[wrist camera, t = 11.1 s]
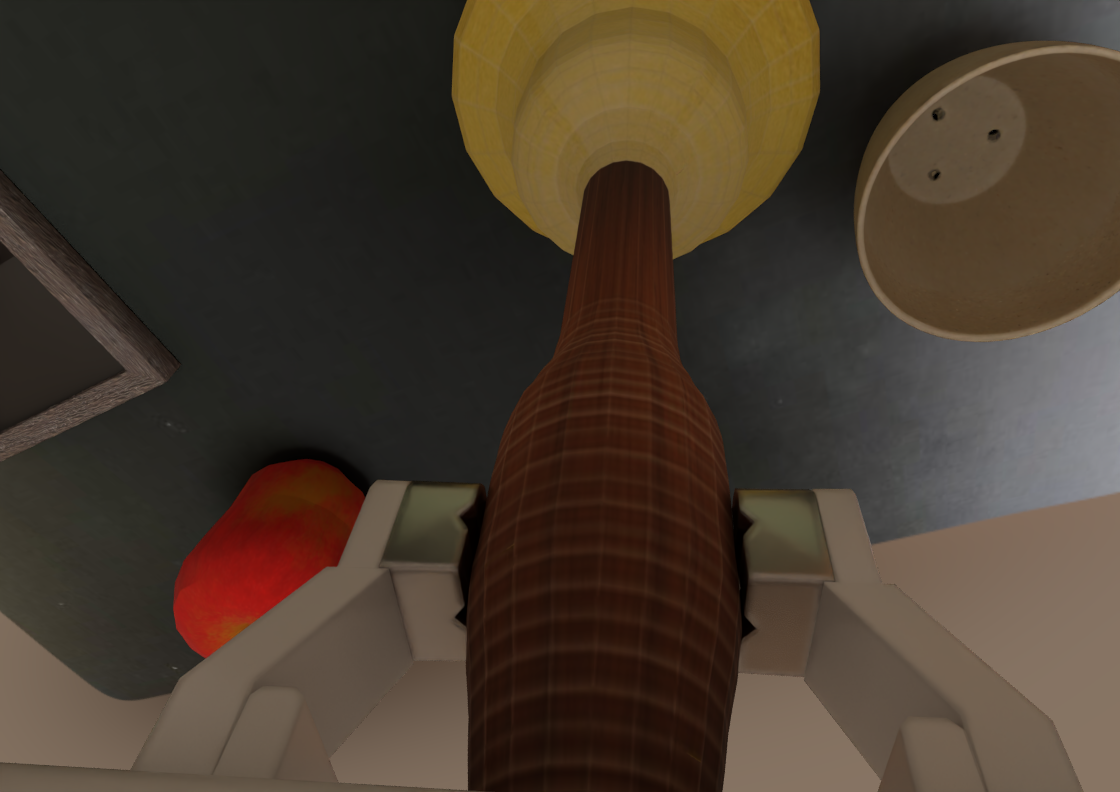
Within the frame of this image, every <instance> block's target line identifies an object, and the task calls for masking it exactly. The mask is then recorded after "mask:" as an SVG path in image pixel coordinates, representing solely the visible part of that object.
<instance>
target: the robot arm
mask: <svg viewBox="0 0 1120 792" xmlns="http://www.w3.org/2000/svg"><path fill="white" fill-rule="evenodd" d="M486 502H487V497H486V492H485V487H484V486H483V485H482V484H478V483H455V482H432V481H412V482H410V481H392V480H376V482H375V483H374V484H373V485H372V486H371V487H370V488H369V490H368V493H367V495H366V498H365V500H364V503H363V505H362V507H361V510H360V512H359V515H358V517H357V520H356V522H355V524H354V527H353V529H352V532H351V534H350V537H349V539H348V542H347V544H346V546H345V549H344V551H343V554H342V556H341V559H340V561H339V563H338V566H337V567H326V568H324V569H323V570H322V571H320V572H319V573H318V574H316V575H315V576H314V577H312V578H311V579H310V580H309V581H307V582H306V583H305V584H303V585H302V586H301V587H299V588H298V589H297V590H295V591H294V592H293V593H291V594H290V595H289V596H287V597H286V598H285V599H284V600H282V601H281V602H280V603H278V604H277V605H276V606H274V607H273V608H272V609H270V610H269V611H268V612H266V613H265V614H264V615H262V616H261V617H260V618H259V619H257V620H256V621H255V622H253V623H252V624H251V625H249V626H248V627H247V628H245V629H244V630H243V631H241V632H240V633H239V634H237V635H236V636H235V637H234V638H232V639H231V640H230V641H228V642H227V643H226V644H224V645H223V646H222V647H220V648H219V649H218V650H216V651H215V652H214V653H212V654H211V655H210V656H209V657H207V658H206V659H205V660H203V661H202V662H201V663H199V664H198V665H197V666H195V667H194V668H193V669H191V670H190V671H189V672H188V673H186V674H185V675H184V676H182V677H181V678H180V679H179V681H178V683H177V684H176V686H175V688H174V690H173V692H172V694H171V695H170V697H169V699H168V701H167V703H166V705H165V707H164V708H163V711H162V712H161V714H160V716H159V718H158V720H157V722H156V723H155V725H154V727H153V729H152V731H151V733H150V735H149V736H148V738H147V740H146V742H145V744H144V746H143V747H142V750H141V751H140V753H139V755H138V757H137V759H136V760H135V762H134V764H133V766H132V768H131V770H116V769H100V768H82V767H67V766H49V765H33V764H17V763H0V792H484V791H467V790H450V789H449V790H448V789H434V788H417V787H400V786H384V785H367V784H351V783H339V782H338V780H337V778H336V775H335V772H334V770H333V768H332V765H331V763H330V760H329V758H330V757H331V756H332V755H333V754H334V753H335V752H336V751H337V749H338V748H339V747H340V746H341V745H342V744H343V743H344V741H345V740H346V739H347V738H348V737H349V736H350V735H351V734H352V733H353V731H354V730H355V729H356V728H357V727H358V726H359V725H360V724H361V722H362V721H363V720H364V719H365V718H366V717H367V716H368V715H369V713H370V712H371V711H372V710H373V709H374V708H375V707H376V706H377V704H378V703H379V702H380V701H381V700H382V699H383V698H384V697H385V695H386V694H387V693H388V692H389V691H390V690H391V689H392V688H393V686H394V685H395V684H396V683H397V682H398V681H399V680H400V679H401V678H402V676H403V675H404V674H405V673H406V672H407V671H408V670H409V669H410V667H411V666H412V665H413V660H423V661H427V660H428V661H466V641H467V606H468V594H469V586H470V579H471V572H472V566H473V562H474V558H475V554H476V550H477V547H478V543H479V538H480V533H481V528H482V523H483V518H484V513H485V507H486ZM732 515H733V525H734V543H735V557H736V564H737V571H738V578H739V588H740V599H741V613H742V637H741V646H740V655H739V667H738V673H751V674H765V675H766V674H767V675H781V676H795V677H805V678H804V681H805V682H806V684H807V685H808V686H809V687H810V689H811V690H812V691H813V693H814V694H815V695H816V696H817V698H818V699H819V700H820V702H821V703H822V704H823V705H824V707H825V708H826V709H827V711H828V712H829V713H830V715H831V716H832V717H833V719H834V720H835V721H836V722H837V724H838V725H839V726H840V728H841V729H842V730H843V732H844V733H845V734H846V735H847V737H848V738H849V739H850V740H851V742H852V743H853V744H854V746H855V747H856V748H857V750H858V751H859V752H860V754H861V755H862V756H863V757H864V759H865V760H866V761H867V763H868V764H869V765H870V767H871V768H872V769H873V770H874V772H875V773H876V774H877V776H878V777H879V778H880V780H881V784H880V786H879V789H878V792H1083V789H1082V787H1081V785H1080V782H1079V780H1078V778H1077V776H1076V773H1075V771H1074V769H1073V766H1072V764H1071V762H1070V759H1069V757H1068V755H1067V753H1066V750H1065V748H1064V746H1063V744H1062V741H1061V739H1060V736H1059V734H1058V732H1057V730H1056V727H1055V725H1054V723H1053V721H1052V720H1051V719H1050V718H1049V717H1048V716H1047V715H1045V714H1044V713H1043V712H1042V711H1041V710H1039V709H1038V708H1037V707H1036V706H1035V705H1034V704H1033V703H1032V702H1030V701H1029V700H1028V699H1027V698H1026V697H1025V696H1023V695H1022V694H1021V693H1020V692H1019V691H1018V690H1016V689H1015V688H1014V687H1013V686H1012V685H1011V684H1010V683H1008V682H1007V681H1006V680H1005V679H1003V677H1001V676H1000V675H999V674H998V673H997V672H995V671H994V670H993V669H992V668H991V667H990V666H989V665H987V664H986V663H985V662H984V661H983V660H982V659H980V658H979V657H978V656H977V655H976V654H975V653H974V652H972V651H971V650H970V649H969V648H968V647H967V646H965V645H964V644H963V643H962V642H961V641H960V640H958V639H957V638H956V637H955V636H954V635H953V634H951V633H950V632H949V631H948V630H947V629H946V628H945V627H943V626H942V625H941V624H940V623H939V622H938V621H936V620H935V619H934V618H933V617H932V616H931V615H929V614H928V613H927V612H926V611H925V610H924V609H923V608H921V607H920V606H919V605H918V604H917V603H916V602H915V601H913V600H912V599H911V598H910V597H909V596H908V595H906V594H905V593H904V592H903V591H902V590H901V589H899V588H898V587H897V586H896V585H895V584H882V580H881V577H880V573H879V570H878V567H877V564H876V560H875V557H874V554H873V550H872V547H871V544H870V540H869V537H868V534H867V530H866V527H865V524H864V520H863V517H862V514H861V511H860V507H859V504H858V501H857V497H856V494H855V493H854V492H853V491H852V490H851V489H812V490H809V489H747V488H735V492H734V496H733V505H732Z"/></svg>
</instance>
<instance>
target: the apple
mask: <svg viewBox="0 0 1120 792" xmlns="http://www.w3.org/2000/svg"><path fill="white" fill-rule="evenodd" d="M364 500H365V496H364V494H363V492H362V491H361V490H360V489H358V488H357V487H356V486H355V485H354V484H353V483H352V482H350V481H349V480H348V479H347V477H346V476H345V475H344V474H343V473H342V472H341V471H340V470H339V469H337V468H335V467H333V466H331V465H329V464H327V463H325V462H323V461H317V460H311V459H301V460H293V461H287V462H282V463H277V464H271V465H268V466H266V467H265V468H263V469H261V470H259V471H258V472H256V473H254V474H253V475H252V476H251V477H250V479H249V480H248V482H247V483H246V485H245V486H244V488H243V489H242V491H241V492H240V494H239V495H238V497H237V498H236V500H235V501H234V503H233V504H232V506H231V507H230V508H229V509H228V510H227V511H226V513H225V514H224V515H223V516H222V517H221V518H220V519H219V520H218V521H217V523H216V524H215V525H214V526H213V527H212V528H211V529H210V530H209V531H208V533H207V534H206V535H205V536H204V537H203V538H202V539H201V541H200V542H199V543H198V544H197V546H196V547H195V548H194V549H193V550H192V552H191V553H190V554H189V555H188V556H187V558H186V559H185V560H184V562H183V565H182V567H181V570H180V572H179V574H178V577H177V579H176V582H175V592H174V606H173V609H174V616H175V622H176V628H177V630H178V631H179V633H180V634H181V635H182V637H183V638H184V639H185V641H186V642H187V644H188V645H189V646H190V648H191V649H193V650H194V651H196V652H197V653H198V654H200V655H201V656H203V657H204V658H207V657H209V656H210V655H211V654H212V653H214V652H215V651H216V650H218V649H219V648H220V647H222V646H223V645H224V644H226V643H227V642H228V641H230V640H231V639H232V638H234V637H235V636H236V635H237V634H239V633H240V632H241V631H243V630H244V629H245V628H247V627H248V626H249V625H251V624H252V623H253V622H255V621H256V620H257V619H259V618H260V617H261V616H262V615H264V614H265V613H266V612H268V611H269V610H270V609H272V608H273V607H274V606H276V605H277V604H278V603H280V602H281V601H282V600H284V599H285V598H286V597H287V596H289V595H290V594H291V593H293V592H294V591H295V590H297V589H298V588H299V587H301V586H302V585H303V584H305V583H306V582H307V581H309V580H310V579H311V578H312V577H314V576H315V575H316V574H318V573H319V572H320V571H322V570H323V569H324V568H326V567H337V566H338V563H339V561H340V559H341V556H342V554H343V551H344V549H345V546H346V544H347V542H348V539H349V537H350V534H351V532H352V529H353V527H354V524H355V522H356V520H357V517H358V515H359V512H360V510H361V507H362V505H363V503H364Z"/></svg>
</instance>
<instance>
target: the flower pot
mask: <svg viewBox="0 0 1120 792" xmlns="http://www.w3.org/2000/svg"><path fill="white" fill-rule="evenodd" d="M933 113H935V114H937V119H936V120H935V119H934V118H933V116H932V114H933ZM992 130H997V131H996V132H995V133H994V134H989V133H990V132H991V131H992ZM938 172H940V174H939V176H938V178H936V179H934V175H935V174H936V173H938ZM854 230H855V238H856V245H857V250H858V255H859V260H860V263H861V267H862V270H863V273H864V275H865V277H866V279H867V281H868V283H869V285H870V287H871V289H872V290H873V292H874V293H875V295H876V296H877V298H878V299H879V300H880V301H881V302H882V303H883V304H884V305H885V307H886V308H887V309H888V310H889V311H890V312H891V313H893V314H894V315H895V316H897V317H898V318H899V319H901V320H902V321H904V322H905V323H907V324H909V325H911V326H912V327H914V328H916V329H919V330H921V331H923V332H926V333H928V334H932V335H935V336H938V337H941V338H946V339H951V340H958V341H972V342H991V341H1002V340H1009V339H1015V338H1019V337H1024V336H1028V335H1032V334H1036V333H1039V332H1042V331H1046V330H1048V329H1051V328H1054V327H1056V326H1059V325H1061V324H1064V323H1066V322H1068V321H1071V320H1073V319H1074V318H1076V317H1078V316H1080V315H1082V314H1084V313H1086V312H1088V311H1089V310H1091V309H1093V308H1094V307H1096V306H1098V305H1100V304H1101V303H1103V302H1104V301H1106V300H1107V299H1109V298H1110V297H1111V296H1113V295H1114V294H1115V293H1116V292H1118V291H1119V290H1120V52H1119V51H1116V50H1112V49H1108V48H1104V47H1100V46H1095V45H1090V44H1083V43H1076V42H1066V41H1024V42H1016V43H1009V44H1003V45H997V46H993V47H989V48H985V49H982V50H978V51H975V52H972V53H969V54H966V55H964V56H961V57H958V58H956V59H954V60H952V61H950V62H948V63H946V64H944V65H942V66H940V67H938V68H937V69H935V70H933V71H931V72H930V73H928V74H927V75H925V76H924V77H922V78H921V79H920V80H918V81H917V82H916V83H914V84H913V85H912V86H911V87H910V88H908V89H907V90H906V91H905V92H904V93H903V94H902V95H901V96H900V97H899V98H898V99H897V100H896V101H895V102H894V104H893V105H892V106H891V107H890V108H889V110H888V111H887V112H886V114H885V115H884V116H883V118H882V119H881V121H880V122H879V124H878V126H877V127H876V129H875V131H874V133H873V134H872V136H871V139H870V141H869V143H868V145H867V148H866V150H865V153H864V156H863V159H862V162H861V166H860V169H859V173H858V178H857V184H856V190H855V200H854Z"/></svg>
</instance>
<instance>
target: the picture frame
mask: <svg viewBox="0 0 1120 792" xmlns="http://www.w3.org/2000/svg"><path fill="white" fill-rule="evenodd" d="M180 365H181V364H180V363H179V362H178V361H177V360H176V359H175V358H174V357H173V355H172V354H171V353H170V352H169V351H168V350H167V349H166V348H165V347H164V346H163V345H162V344H161V343H160V341H159V340H158V339H157V338H156V337H155V336H154V335H153V334H152V333H151V332H150V331H149V330H148V329H147V327H146V326H145V325H144V324H143V323H142V322H141V321H140V320H139V319H138V318H137V317H136V316H135V315H134V313H133V312H132V311H131V310H130V309H129V308H128V307H127V306H126V305H125V304H124V303H123V302H122V301H121V299H120V298H119V297H118V296H117V295H116V294H115V293H114V292H113V291H112V290H111V289H110V288H109V287H108V285H107V284H106V283H105V282H104V281H103V280H102V279H101V278H100V277H99V276H98V275H97V274H96V273H95V271H94V270H93V269H92V268H91V267H90V266H89V265H88V264H87V263H86V262H85V261H84V260H83V259H82V257H81V256H80V255H79V254H78V253H77V252H76V251H75V250H74V249H73V248H72V247H71V246H70V245H69V243H68V242H67V241H66V240H65V239H64V238H63V237H62V236H61V235H60V234H59V233H58V232H57V231H56V229H55V228H54V227H53V226H52V225H51V224H50V223H49V222H48V221H47V220H46V219H45V218H44V217H43V215H42V214H41V213H40V212H39V211H38V210H37V209H36V208H35V207H34V206H33V205H32V204H31V203H30V201H29V200H28V199H27V198H26V197H25V196H24V195H23V194H22V193H21V192H20V191H19V190H18V189H17V187H16V186H15V185H14V184H13V183H12V182H11V181H10V180H9V179H8V178H7V177H6V176H5V175H4V173H3V172H2V171H1V170H0V462H1V461H3V460H5V459H7V458H9V457H11V456H13V455H15V454H17V453H19V452H22V451H24V450H26V449H28V448H30V447H32V446H34V445H36V444H38V443H40V442H42V441H45V440H47V439H49V438H51V437H53V436H55V435H57V434H59V433H61V432H63V431H65V430H67V429H70V428H72V427H74V426H76V425H78V424H80V423H82V422H84V421H86V420H88V419H90V418H93V417H95V416H97V415H99V414H101V413H103V412H105V411H107V410H109V409H111V408H113V407H116V406H118V405H120V404H122V403H124V402H126V401H128V400H130V399H132V398H134V397H136V396H138V395H141V394H143V393H145V392H147V391H149V390H151V389H153V388H155V387H157V386H159V385H161V384H164V383H166V382H167V381H168V380H169V378H170V377H171V376H172V375H173V374H174V372H175V371H176V370H177V369H178V368H179V366H180Z"/></svg>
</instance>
